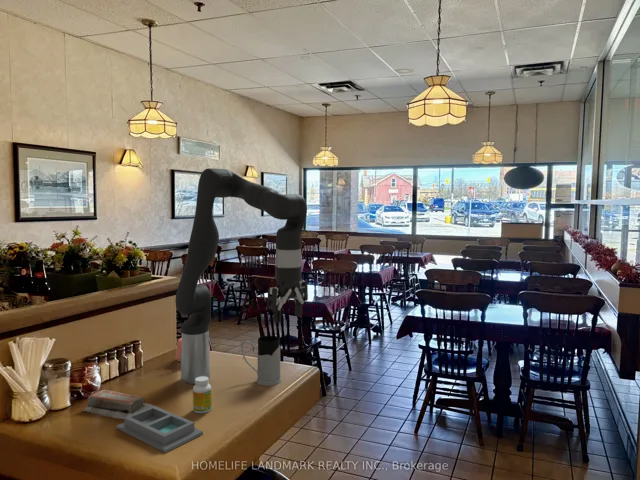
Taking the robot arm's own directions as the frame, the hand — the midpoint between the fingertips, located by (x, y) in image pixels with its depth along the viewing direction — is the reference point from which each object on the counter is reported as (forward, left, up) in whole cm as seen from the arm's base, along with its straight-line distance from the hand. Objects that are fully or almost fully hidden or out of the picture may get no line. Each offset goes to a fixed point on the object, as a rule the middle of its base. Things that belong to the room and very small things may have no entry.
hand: (288, 319), depth 143 cm
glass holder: (-25, +15, -29) cm, 41 cm away
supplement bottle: (-23, -13, -29) cm, 39 cm away
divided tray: (-22, -29, -29) cm, 46 cm away
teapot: (-61, +14, -29) cm, 69 cm away
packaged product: (-44, -28, -29) cm, 60 cm away
